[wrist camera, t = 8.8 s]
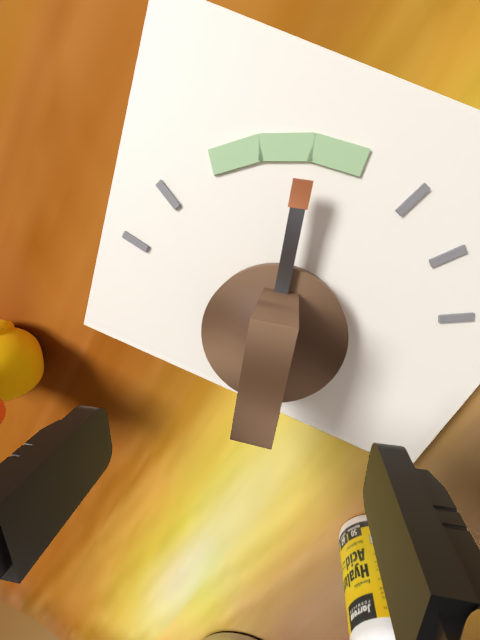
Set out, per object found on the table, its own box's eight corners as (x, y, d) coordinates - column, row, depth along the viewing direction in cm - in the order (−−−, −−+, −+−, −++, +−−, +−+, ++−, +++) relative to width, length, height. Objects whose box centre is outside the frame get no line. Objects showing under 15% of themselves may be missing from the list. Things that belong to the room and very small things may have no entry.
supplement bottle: (347, 502, 23) (380, 691, 14) (422, 522, 22) (507, 734, 13) (329, 549, 25) (347, 742, 16) (397, 569, 24) (456, 782, 15)
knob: (326, 404, 19) (338, 489, 13) (200, 375, 20) (160, 443, 14) (386, 194, 14) (445, 182, 9) (223, 171, 15) (179, 147, 10)
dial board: (400, 452, 21) (409, 471, 19) (97, 317, 22) (81, 325, 20) (616, 182, 14) (656, 178, 13) (166, 1, 15) (151, -25, 13)
